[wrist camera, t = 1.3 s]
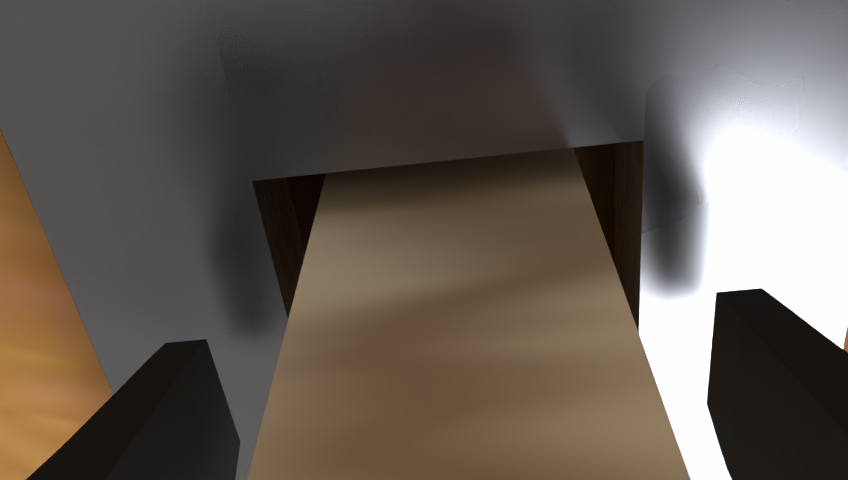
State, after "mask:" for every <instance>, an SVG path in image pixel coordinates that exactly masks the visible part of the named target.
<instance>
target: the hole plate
mask: <svg viewBox="0 0 848 480" xmlns="http://www.w3.org/2000/svg"><path fill="white" fill-rule="evenodd" d="M0 129H1V131H2V134H3V136H4V138H5V141H6V143H7V145H8V148H9V150H10V152H11V155H12V157H13V159H14V162H15V164H16V167H17V169H18V171H19V174H20V176H21V178H22V181H23V183H24V185H25V188H26V190H27V192H28V195H29V197H30V199H31V202H32V204H33V206H34V209H35V211H36V214H37V216H38V218H39V221H40V223H41V225H42V228H43V230H44V232H45V235H46V237H47V239H48V242H49V244H50V246H51V249H52V251H53V253H54V256H55V258H56V261H57V263H58V265H59V268H60V270H61V272H62V275H63V277H64V279H65V282H66V284H67V286H68V289H69V291H70V293H71V296H72V298H73V300H74V303H75V305H76V308H77V310H78V312H79V315H80V317H81V319H82V322H83V324H84V326H85V329H86V331H87V333H88V336H89V338H90V340H91V343H92V345H93V347H94V350H95V352H96V355H97V357H98V359H99V362H100V364H101V366H102V369H103V371H104V373H105V376H106V378H107V380H108V383H109V385H110V387H111V390H112V392H113V394H115V393H116V392H117V391H118V390H119V389H120V388H121V387H122V386H123V385H124V384H125V383H126V381H127V380H128V379H129V378H130V377H131V376H132V375H133V374H134V373H135V372H136V371H137V370H138V369H139V368H140V367H141V366H142V365H143V364H144V363H145V362H146V361H147V360H148V359H149V358H150V357H151V356H152V355H153V354H154V353H155V352H156V351H157V350H158V349H159V348H161V347H162V346H163V345H164V344H165V343H169V342H180V341H191V340H202V339H207V342H208V345H209V348H210V351H211V354H212V357H213V360H214V363H215V366H216V369H217V372H218V375H219V378H220V382H221V385H222V388H223V391H224V394H225V397H226V400H227V403H228V406H229V409H230V412H231V415H232V418H233V421H234V424H235V427H236V430H237V433H238V436H239V439H240V449H239V456H238V463H237V471H236V478H235V480H247V478H248V474H249V470H250V466H251V462H252V458H253V454H254V451H255V447H256V443H257V439H258V435H259V431H260V427H261V423H262V420H263V416H264V412H265V408H266V404H267V400H268V396H269V392H270V389H271V385H272V381H273V377H274V373H275V369H276V365H277V361H278V357H279V354H280V350H281V346H282V342H283V338H284V334H285V330H286V326H287V323H288V319H289V315H290V311H291V307H292V303H293V299H294V295H295V292H296V288H297V284H298V280H299V276H300V272H301V268H302V264H303V261H304V257H305V250H304V246H303V241H302V237H301V233H300V228H299V224H298V220H297V215H296V211H295V207H294V202H293V198H292V194H291V189H290V185H289V181H288V177H293V176H303V175H313V174H322V173H332V172H342V171H351V170H361V169H371V168H380V167H390V166H399V165H409V164H419V163H428V162H438V161H448V160H457V159H467V158H477V157H486V156H496V155H506V154H515V153H525V152H535V151H544V150H554V149H564V148H573V147H583V146H592V145H602V144H612V143H615V230H614V265H615V268H616V271H617V273H618V276H619V279H620V282H621V285H622V287H623V290H624V293H625V296H626V299H627V302H628V304H629V307H630V310H631V313H632V316H633V319H634V321H635V324H636V327H637V330H638V333H639V335H640V338H641V341H642V344H643V347H644V350H645V352H646V355H647V358H648V361H649V364H650V366H651V369H652V372H653V375H654V378H655V381H656V383H657V386H658V389H659V392H660V395H661V398H662V400H663V403H664V406H665V409H666V412H667V414H668V417H669V420H670V423H671V426H672V429H673V431H674V434H675V437H676V440H677V443H678V446H679V448H680V451H681V454H682V457H683V460H684V462H685V465H686V468H687V471H688V474H689V477H690V479H691V480H732V479H731V477H730V474H729V472H728V470H727V467H726V464H725V461H724V458H723V455H722V452H721V449H720V446H719V443H718V440H717V437H716V433H715V430H714V427H713V423H712V420H711V417H710V413H709V410H708V407H707V391H708V380H709V369H710V357H711V346H712V334H713V323H714V312H715V300H716V292H725V291H735V290H746V289H757V288H762V289H764V290H765V291H766V292H768V293H769V294H770V295H772V296H773V297H775V298H776V299H777V300H779V301H780V302H781V303H783V304H784V305H785V306H786V307H788V308H789V309H790V310H792V311H793V312H794V313H796V314H797V315H798V316H800V317H801V318H802V319H803V320H805V321H806V322H807V323H809V324H810V325H811V326H813V327H814V328H815V329H817V330H818V331H819V332H821V333H822V334H823V335H825V336H826V337H827V338H829V339H830V340H831V341H832V342H834V343H835V344H836V345H838V346H839V347H841V348H842V349H843V345H844V340H845V335H846V330H847V325H848V0H0Z"/></svg>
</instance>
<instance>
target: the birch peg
mask: <svg viewBox="0 0 848 480" xmlns="http://www.w3.org/2000/svg"><path fill="white" fill-rule="evenodd" d="M247 480H691V479H690V477H689V474H688V471H687V468H686V465H685V462H684V460H683V457H682V454H681V451H680V448H679V446H678V443H677V440H676V437H675V434H674V431H673V429H672V426H671V423H670V420H669V417H668V414H667V412H666V409H665V406H664V403H663V400H662V398H661V395H660V392H659V389H658V386H657V383H656V381H655V378H654V375H653V372H652V369H651V366H650V364H649V361H648V358H647V355H646V352H645V350H644V347H643V344H642V341H641V338H640V335H639V333H638V330H637V327H636V324H635V321H634V319H633V316H632V313H631V310H630V307H629V304H628V302H627V299H626V296H625V293H624V290H623V287H622V285H621V282H620V279H619V276H618V273H617V271H616V268H615V265H614V262H613V259H612V256H611V254H610V251H609V248H608V245H607V242H606V239H605V237H604V234H603V231H602V228H601V225H600V223H599V220H598V217H597V214H596V211H595V208H594V206H593V203H592V200H591V197H590V194H589V192H588V189H587V186H586V183H585V180H584V177H583V175H582V172H581V169H580V166H579V163H578V160H577V158H576V155H575V152H574V149H573V148H564V149H554V150H544V151H535V152H525V153H515V154H506V155H496V156H486V157H477V158H467V159H457V160H448V161H438V162H428V163H419V164H409V165H399V166H390V167H380V168H371V169H361V170H351V171H342V172H332V173H326V175H325V179H324V183H323V187H322V191H321V195H320V198H319V202H318V206H317V210H316V214H315V218H314V222H313V226H312V229H311V233H310V237H309V241H308V245H307V249H306V253H305V257H304V261H303V264H302V268H301V272H300V276H299V280H298V284H297V288H296V292H295V295H294V299H293V303H292V307H291V311H290V315H289V319H288V323H287V326H286V330H285V334H284V338H283V342H282V346H281V350H280V354H279V357H278V361H277V365H276V369H275V373H274V377H273V381H272V385H271V389H270V392H269V396H268V400H267V404H266V408H265V412H264V416H263V420H262V423H261V427H260V431H259V435H258V439H257V443H256V447H255V451H254V454H253V458H252V462H251V466H250V470H249V474H248V478H247Z"/></svg>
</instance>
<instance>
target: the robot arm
mask: <svg viewBox="0 0 848 480" xmlns="http://www.w3.org/2000/svg"><path fill="white" fill-rule="evenodd" d="M707 407H708V410H709V413H710V417H711V420H712V423H713V427H714V430H715V433H716V437H717V440H718V443H719V446H720V449H721V452H722V455H723V458H724V461H725V464H726V467H727V470H728V472H729V474H730V477H731V479H732V480H848V353H847V352H846V351H845V350H843V349H842V348H841V347H839V346H838V345H836V344H835V343H834V342H832V341H831V340H830V339H829V338H827V337H826V336H825V335H823V334H822V333H821V332H819V331H818V330H817V329H815V328H814V327H813V326H811V325H810V324H809V323H807V322H806V321H805V320H803V319H802V318H801V317H800V316H798V315H797V314H796V313H794V312H793V311H792V310H790V309H789V308H788V307H786V306H785V305H784V304H783V303H781V302H780V301H779V300H777V299H776V298H775V297H773V296H772V295H770V294H769V293H768V292H766V291H765V290H764V289H762V288H757V289H746V290H735V291H725V292H716V300H715V312H714V323H713V334H712V346H711V357H710V369H709V380H708V391H707ZM239 449H240V439H239V436H238V433H237V430H236V427H235V424H234V421H233V418H232V415H231V412H230V409H229V406H228V403H227V400H226V397H225V394H224V391H223V388H222V385H221V382H220V378H219V375H218V372H217V369H216V366H215V363H214V360H213V357H212V354H211V351H210V348H209V345H208V342H207V339H202V340H191V341H180V342H169V343H165V344H164V345H163V346H162V347H161V348H159V349H158V350H157V351H156V352H155V353H154V354H153V355H152V356H151V357H150V358H149V359H148V360H147V361H146V362H145V363H144V364H143V365H142V366H141V367H140V368H139V369H138V370H137V371H136V372H135V373H134V374H133V375H132V376H131V377H130V378H129V379H128V380H127V381H126V383H125V384H124V385H123V386H122V387H121V388H120V389H119V390H118V391H117V392H116V393H115V394H114V395H113V396H112V397H111V398H110V399H109V400H108V401H107V402H106V403H105V404H104V405H103V406H102V407H101V408H100V409H99V410H98V411H97V412H96V413H95V414H94V415H93V416H92V417H91V418H90V419H89V420H88V421H87V422H86V423H85V424H84V425H83V426H82V427H81V428H80V429H79V430H78V431H77V432H76V433H75V434H74V435H73V436H72V437H71V438H70V439H69V440H68V441H67V442H66V443H65V444H64V445H63V446H62V447H61V448H60V449H59V450H58V451H56V452H55V453H54V454H53V455H52V456H51V457H50V458H49V459H48V460H47V461H46V462H45V463H44V464H42V465H41V466H40V467H39V468H38V469H37V470H36V471H35V472H34V473H33V474H32V475H31V476H29V477H28V478H27V479H26V480H235V478H236V471H237V463H238V456H239Z"/></svg>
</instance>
